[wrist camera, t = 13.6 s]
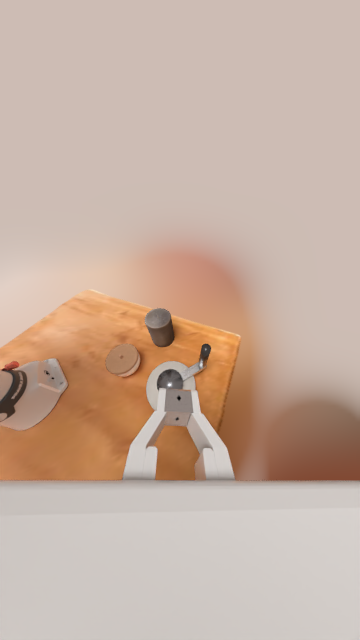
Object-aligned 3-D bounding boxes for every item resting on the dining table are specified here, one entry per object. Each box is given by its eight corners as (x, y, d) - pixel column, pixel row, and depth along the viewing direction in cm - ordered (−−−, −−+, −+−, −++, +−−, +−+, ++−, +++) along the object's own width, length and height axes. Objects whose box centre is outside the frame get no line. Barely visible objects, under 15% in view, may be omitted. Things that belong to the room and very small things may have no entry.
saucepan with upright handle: (164, 404, 38) (155, 397, 27) (154, 379, 42) (143, 364, 31) (211, 375, 42) (219, 358, 32) (198, 355, 47) (201, 334, 36)
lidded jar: (149, 365, 49) (142, 354, 42) (124, 387, 44) (112, 380, 37) (133, 347, 54) (125, 335, 47) (110, 366, 49) (97, 356, 42)
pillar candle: (178, 337, 56) (176, 315, 45) (160, 351, 52) (153, 330, 41) (165, 325, 61) (160, 301, 50) (148, 337, 57) (138, 314, 46)
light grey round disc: (140, 381, 45) (138, 379, 43) (177, 356, 51) (176, 352, 48) (163, 429, 37) (162, 430, 34) (204, 392, 42) (206, 390, 40)
